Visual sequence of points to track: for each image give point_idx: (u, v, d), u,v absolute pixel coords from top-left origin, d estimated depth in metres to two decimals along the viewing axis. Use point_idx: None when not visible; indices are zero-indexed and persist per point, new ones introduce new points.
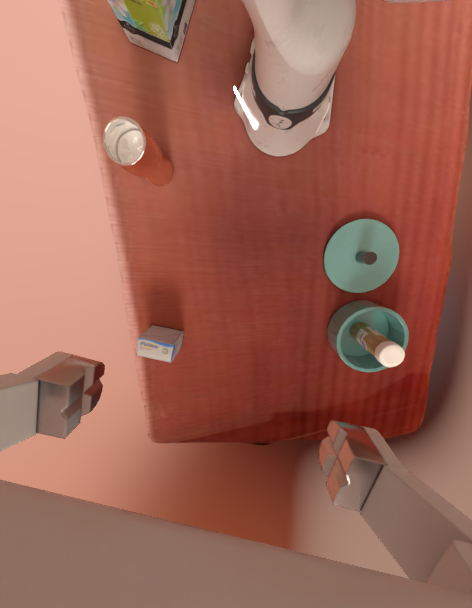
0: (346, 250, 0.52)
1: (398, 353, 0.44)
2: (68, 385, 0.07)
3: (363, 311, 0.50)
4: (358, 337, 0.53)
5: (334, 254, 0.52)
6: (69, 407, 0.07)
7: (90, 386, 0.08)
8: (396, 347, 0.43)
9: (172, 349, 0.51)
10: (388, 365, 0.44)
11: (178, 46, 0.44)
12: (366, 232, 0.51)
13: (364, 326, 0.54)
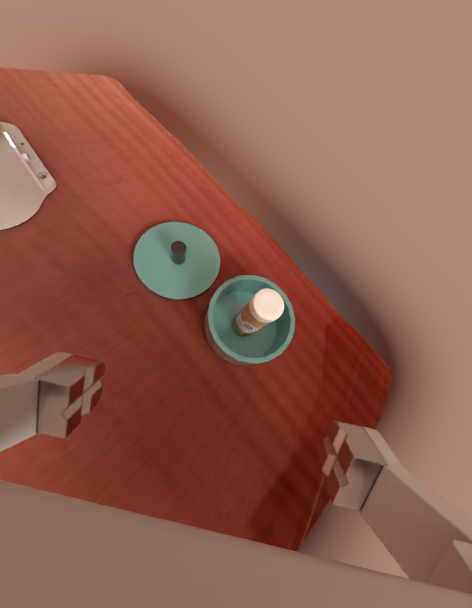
0: (159, 261, 0.44)
1: (271, 296, 0.33)
2: (68, 385, 0.07)
3: (216, 295, 0.39)
4: (240, 326, 0.40)
5: (149, 272, 0.43)
6: (69, 407, 0.07)
7: (90, 386, 0.08)
8: (263, 291, 0.33)
9: None
10: (275, 316, 0.32)
11: None
12: (163, 236, 0.45)
13: (238, 313, 0.42)
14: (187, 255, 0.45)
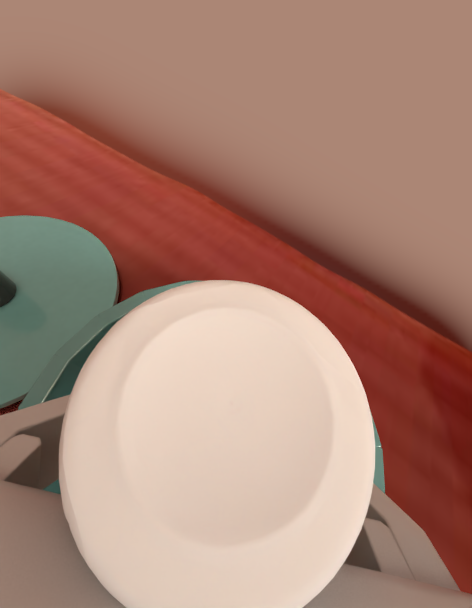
0: None
1: (235, 328, 0.04)
2: None
3: (46, 382, 0.10)
4: None
5: None
6: None
7: None
8: (164, 309, 0.04)
9: None
10: (330, 533, 0.03)
11: None
12: None
13: None
14: (23, 282, 0.17)
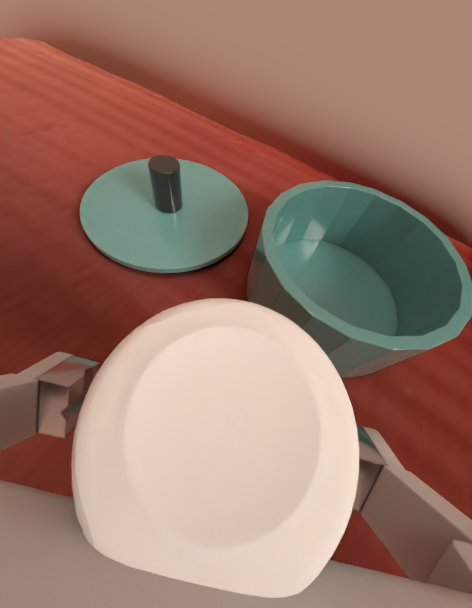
0: (132, 214, 0.22)
1: (231, 346, 0.04)
2: (68, 385, 0.07)
3: (270, 220, 0.17)
4: None
5: (116, 232, 0.21)
6: (69, 407, 0.07)
7: None
8: (166, 328, 0.04)
9: None
10: (315, 536, 0.03)
11: None
12: (134, 178, 0.25)
13: None
14: (184, 198, 0.24)
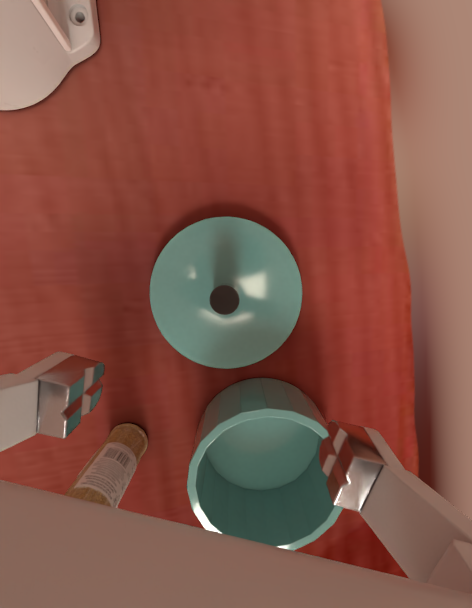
0: (192, 286, 0.25)
1: None
2: (68, 385, 0.07)
3: (232, 423, 0.21)
4: None
5: (169, 296, 0.25)
6: (69, 407, 0.07)
7: (90, 386, 0.08)
8: None
9: None
10: None
11: None
12: (223, 244, 0.24)
13: (110, 440, 0.25)
14: (243, 297, 0.25)
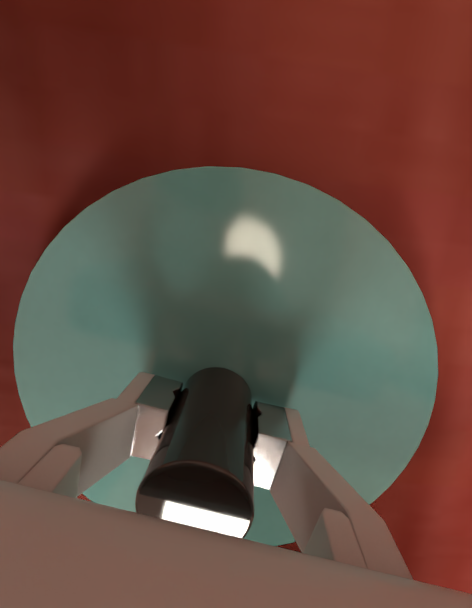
0: (128, 362, 0.09)
1: None
2: (166, 409, 0.07)
3: None
4: None
5: (66, 379, 0.09)
6: None
7: (173, 406, 0.08)
8: None
9: None
10: None
11: None
12: (226, 257, 0.08)
13: None
14: None
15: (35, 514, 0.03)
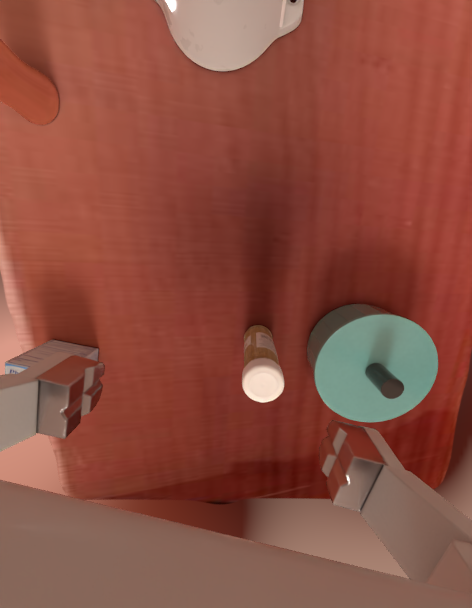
0: (351, 361, 0.32)
1: (272, 380, 0.26)
2: (68, 385, 0.07)
3: None
4: None
5: (331, 366, 0.32)
6: (69, 407, 0.07)
7: (90, 386, 0.08)
8: (268, 370, 0.25)
9: None
10: (258, 399, 0.26)
11: None
12: (384, 334, 0.31)
13: (256, 331, 0.36)
14: None
15: (35, 514, 0.03)
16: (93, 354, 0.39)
